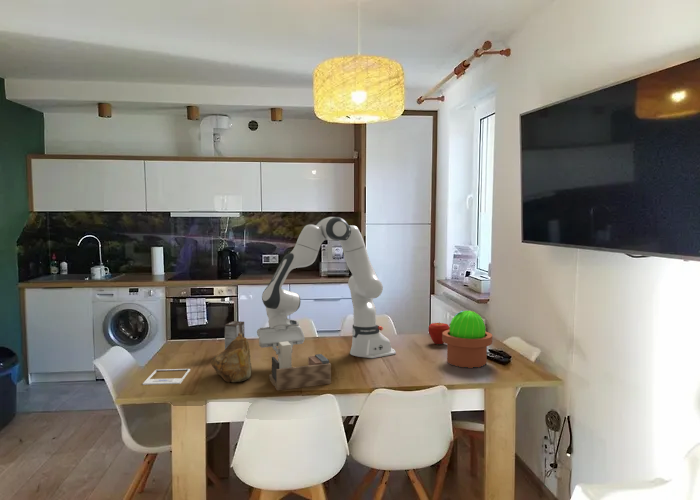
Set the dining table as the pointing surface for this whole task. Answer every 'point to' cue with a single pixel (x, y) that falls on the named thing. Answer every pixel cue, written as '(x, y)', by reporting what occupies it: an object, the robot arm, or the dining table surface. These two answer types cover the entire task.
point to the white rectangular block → (285, 355)
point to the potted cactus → (467, 340)
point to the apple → (437, 331)
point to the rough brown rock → (234, 361)
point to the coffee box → (233, 331)
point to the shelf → (301, 374)
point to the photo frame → (165, 381)
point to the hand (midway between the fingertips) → (284, 353)
